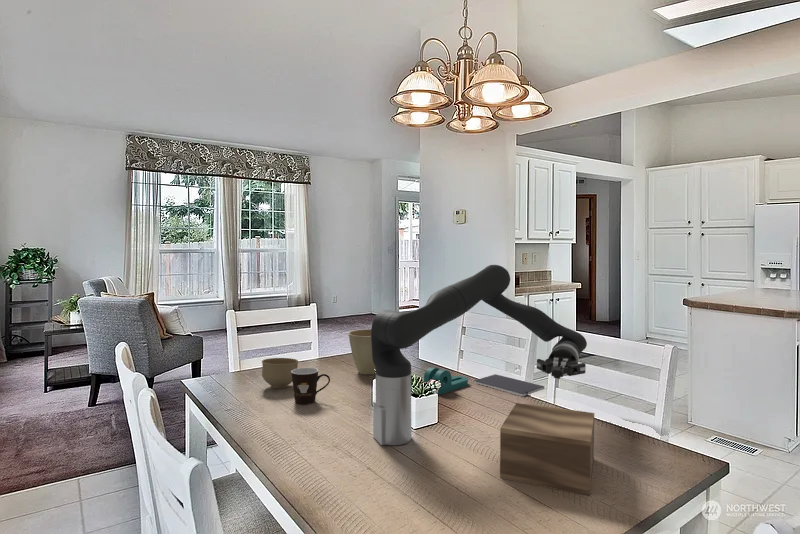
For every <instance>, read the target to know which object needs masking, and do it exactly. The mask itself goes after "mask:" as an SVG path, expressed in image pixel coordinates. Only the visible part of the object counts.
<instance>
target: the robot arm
mask: <svg viewBox="0 0 800 534" xmlns="http://www.w3.org/2000/svg"><path fill="white" fill-rule="evenodd" d="M510 283H511V275H510V273H509V270H508V269H506V268H505V267H503V266H502V265H499V264H490V265H487V266H486V267H484V268H483V269H481V270H480V271H478V272H476V273H475V274H474V275H472V276H469V277H467V278H464V279H462V280H460V281H457V282H455V283H453V284H450V285H448V286H445V287H443V288H441V289H438V290H437V291H435V292H433V293H432V294H431V295H430V296H429V298H428V299H427V302H425V303H426V304H425V305H424V306H422V307H420V308H417V309H414V310H411V311H408V312H407V311H405V312H403V311H396V310H395V311H394V310H389V309H388V310H387V309H386V310H381V311H378V313H377V314H376V315H374V318H373V319H372V324H371V328H370V329H371V343H372V359H373V363H374V365H375V369H376V373H375V400H373V401H372V418H373V419H372V420H373V421H372V426H373V428H372V435H373V436H372V437H373V438H374V439H375V440H376V441H377V442H378V443H379V445H380V446H385V445H386V446H401V445H405V444H407V443H409V442H410V441H411V440H412V364H411V361H410V360H409V359H408V358H406V357H405V355H404V354H403V353H402V351H401V350H403V349H407V348H409V347H411V346H414V344H416V343H417V342H418V341H420V340H421V339H423V338H424V337H425V336H427V335H428V334H429V333H431V332H432V331H434V330H436V329H438V328H439V327H440V328H441V327H442V326H444V325H445V324H448V323H450V322H451V321H454V320H455V319H457V318H459V317H461V316H463V315H464V314H466V313H468V311H470V310H471V309H472V308H474V307H475V306H476V305H477V304H478V303H479V302H482V301H483V302H484V303H485V304H487V305H488V306H491V307H492V308H494V309H496V310H497V311H500V312H501V313H502V314H505V315H506V316H508V317H509V318H510V319H513V320H515V321H516V322H518V323H520V324H521V325H522V326H523V327H525V328H527V329H528V330H529V331H530V332H532V333H533V334H534V335H535V336H537V337H538V338H539V339H540V340H542V341H543V342H545V343H548V342H550V341H552V340H554V339H555V338H557V337H561V338H560V340H558V341H557V343H555V344H554V346H553V347H552V349H551V352H550V354H549V356H548V358H546V359H540V358H537V359H536V369H537V370H539V371H541V372H543V373H545V374H548V375H549V374H550V375H551V377H553V378H554V379H561V378H563V377H566V376H568V377H572V376H573V377H574V376H577V375H578V376H579V375H585V374H586V369H587V367H586V363H585V362H580V361H579V358H580V354H581V353H582V352H584V351H585V349H586V348H587V346H588V343H587V340H586V338H585V336H583V335H582V334H581V333H580V332H578V331H576V330H573V329H570V328H568V327H566V326H564V325H562V324H560V323H558V322H556V321H555V319H553V318H551V317H550V316H549V315H547V314H546V313H545V312H543V311H542V310H540V309H539V308H536V307H534V306H531V305H528V304H523V303H519V302H517V301H514V300H512V299H509V298H508V297H506V296H505V295H504V294H503V293H504V292H505V291H506V290H507V289H508V288H509V286H510ZM579 362H580V363H579Z"/></svg>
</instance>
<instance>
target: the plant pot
mask: <svg viewBox="0 0 800 534" xmlns="http://www.w3.org/2000/svg"><path fill="white" fill-rule="evenodd" d="M348 340H349V346H350V351H351V355H352V358H353V361H354V364H355V367H356V370H357V371H358V372H359V373H358V374H360V375H364V374H370V375H374V374H373V373H375V370H374V369H375V365H374V363H373V359H372V343H371V328H369V329H367V328H365V329H354V330H351V331H348ZM375 374H376V373H375Z"/></svg>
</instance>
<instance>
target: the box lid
mask: <svg viewBox="0 0 800 534" xmlns="http://www.w3.org/2000/svg"><path fill="white" fill-rule="evenodd" d="M593 423H594V424H595V412H589V411H582V410H575V409H567V408H559V407H549V406H544V405H543V406H542V405H538V404H537V405H535V404H528V403H519V402H516V403H515V404H514V406H513V408H511V410H510V413H508V415H507V417H506V418H505V420H504V422H503V423H502V424H501V426H500V427H499V429H500V431H499V432H501V433H508V434H514V435H520V436H527V437H533V438H539V439H546V440H552V441H558V442H565V443H571V444H577V445H584V446H590V445H591V438H592V431H593Z"/></svg>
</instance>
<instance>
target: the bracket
mask: <svg viewBox="0 0 800 534" xmlns="http://www.w3.org/2000/svg"><path fill="white" fill-rule="evenodd" d="M430 379H434V380H440V383H441V387H440V388H439V390H438V394H439V395H438V396H440V395H443V394H446V393H449V392H452V391H455V390H456V391H457V390H458V389H462V388H464V387H467V386H468V385H469V380H468V379H469V378H468V377H466V376H460V375H453V376H452V374H451V372H450V370H447V369H442V368H437V367H433V366H429V367H428V368H427V369H426V370H425V371H424V374H423V383H424V382H426V383H427V382H428V381H429V380H430Z"/></svg>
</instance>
